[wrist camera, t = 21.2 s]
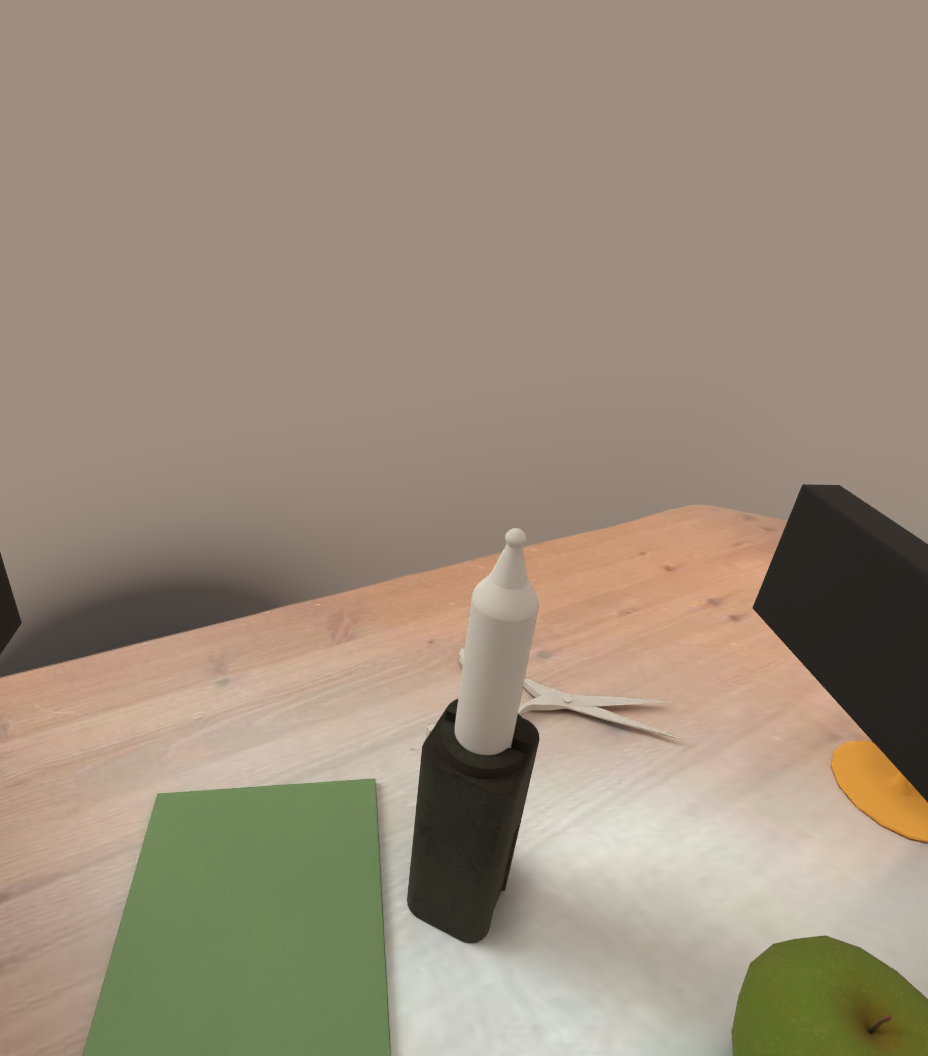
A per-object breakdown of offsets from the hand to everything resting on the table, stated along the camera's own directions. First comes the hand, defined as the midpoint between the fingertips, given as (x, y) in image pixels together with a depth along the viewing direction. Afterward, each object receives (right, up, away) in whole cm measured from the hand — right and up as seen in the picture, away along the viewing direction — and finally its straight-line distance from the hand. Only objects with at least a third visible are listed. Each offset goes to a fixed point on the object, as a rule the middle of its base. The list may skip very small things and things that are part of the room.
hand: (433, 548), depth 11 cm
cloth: (-11, -21, +25) cm, 35 cm away
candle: (0, -22, +28) cm, 35 cm away
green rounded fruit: (+15, -28, +19) cm, 37 cm away
